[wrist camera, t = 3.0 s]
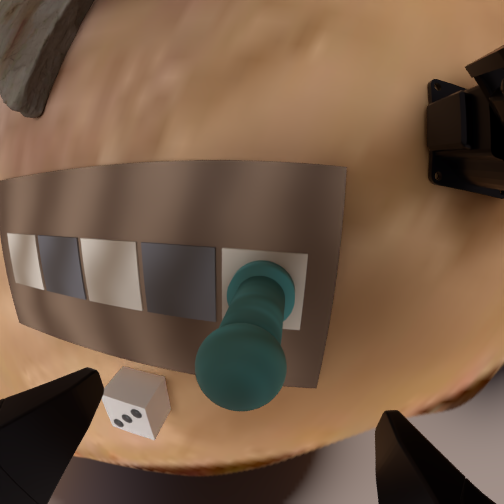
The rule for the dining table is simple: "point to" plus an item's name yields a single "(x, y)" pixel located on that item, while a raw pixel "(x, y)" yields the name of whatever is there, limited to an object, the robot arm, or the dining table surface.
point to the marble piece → (35, 48)
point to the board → (171, 253)
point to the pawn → (248, 340)
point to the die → (137, 402)
